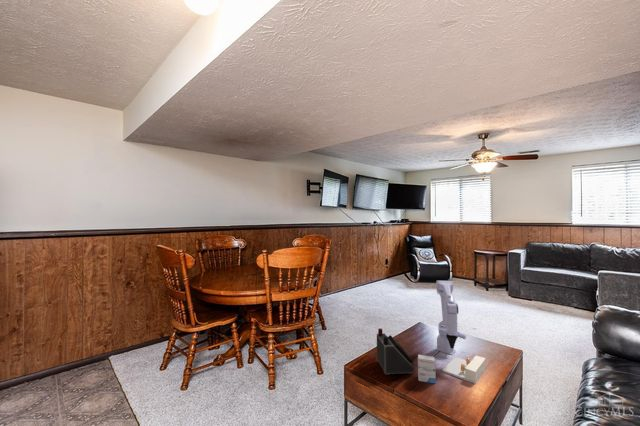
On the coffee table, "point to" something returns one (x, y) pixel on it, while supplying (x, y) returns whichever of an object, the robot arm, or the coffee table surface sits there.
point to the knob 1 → (463, 367)
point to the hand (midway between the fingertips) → (452, 347)
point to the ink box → (426, 369)
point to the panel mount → (467, 368)
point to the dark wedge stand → (392, 355)
